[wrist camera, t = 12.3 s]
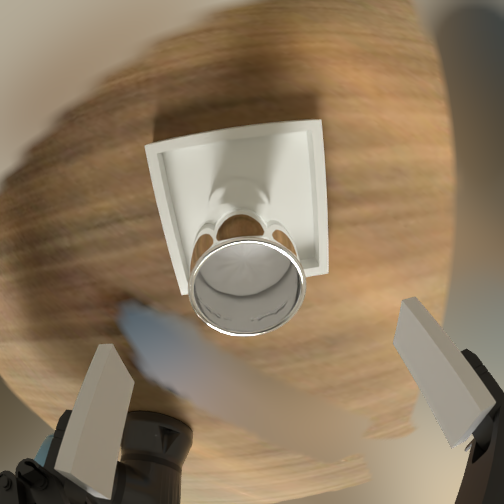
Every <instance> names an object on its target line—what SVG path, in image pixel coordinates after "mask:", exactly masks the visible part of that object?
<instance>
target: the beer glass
mask: <svg viewBox="0 0 504 504" xmlns="http://www.w3.org/2000/svg"><path fill="white" fill-rule="evenodd" d="M208 213H209V214H208V215H207V216H206V217H205V219H204V221H203V222H202V224H201V225H200V227H199V229H198V231H197V234H196V237H195V240H194V243H193V247H192V252H191V259H190V270H189V281H188V296H189V300H190V303H191V306H192V308H193V310H194V311H195V313H196V314H197V315H198V317H199V318H200V319H201V320H202V321H203V322H204V323H206V324H207V325H208V326H210V327H211V328H213V329H215V330H217V331H219V332H222V333H225V334H228V335H233V336H243V337H247V336H257V335H262V334H265V333H268V332H271V331H273V330H276V329H277V328H279V327H281V326H283V325H284V324H285V323H287V322H288V321H289V320H290V319H291V318H292V317H293V316H294V315H295V314H296V313H297V311H298V310H299V308H300V307H301V305H302V303H303V300H304V297H305V293H306V277H305V273H304V270H303V267H302V265H301V261H300V257H299V254H298V250H297V247H296V245H295V242H294V240H293V237H292V235H291V233H290V231H289V230H288V228H287V226H286V224H285V223H284V221H283V220H282V219H281V218H280V217H279V216H278V215H277V213H276V212H275V211H274V210H272V209H271V208H270V205H269V200H268V197H267V195H266V193H265V191H264V190H263V189H262V187H261V186H259V185H258V184H257V183H255V182H253V181H251V180H248V179H244V178H235V179H230V180H227V181H225V182H223V183H221V184H220V185H219V186H218V187H217V188H216V189H215V190H214V191H213V193H212V194H211V196H210V199H209V204H208Z"/></svg>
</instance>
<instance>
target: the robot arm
mask: <svg viewBox="0 0 504 504" xmlns="http://www.w3.org/2000/svg"><path fill="white" fill-rule="evenodd" d="M393 345H394V346H395V348H396V349H397V351H398V353H399V354H400V356H401V358H402V359H403V361H404V363H405V364H406V366H407V368H408V370H409V371H410V373H411V375H412V376H413V378H414V380H415V382H416V383H417V385H418V387H419V389H420V390H421V392H422V394H423V396H424V397H425V399H426V401H427V403H428V405H429V407H430V408H431V410H432V412H433V414H434V416H435V418H436V420H437V421H438V423H439V425H440V427H441V429H442V431H443V433H444V435H445V437H446V439H447V441H448V443H449V445H450V447H451V448H454V447H455V446H457V445H459V444H461V443H462V442H464V441H466V440H467V439H468V438H469V436H470V435H471V434H473V436H474V439H473V440H472V441H471V442H470V443H469V444H468V445H467V447H466V449H465V451H467V450H468V449H469V448H470V447H471V450H470V454H469V458H468V462H467V466H466V469H465V473H464V476H463V480H462V483H461V486H460V489H459V492H458V495H457V498H456V501H455V504H504V392H503V391H502V389H501V388H500V387H499V385H498V384H497V382H496V381H495V379H494V378H493V377H492V375H491V374H490V373H489V372H488V370H487V369H486V367H485V366H484V365H483V364H482V362H481V361H480V359H479V358H478V357H477V355H475V354H474V353H472V352H471V351H469V350H468V349H465V350H463V351H461V352H460V351H459V349H458V348H457V347H456V345H455V344H454V343H453V341H452V340H451V339H450V338H449V336H448V335H447V334H446V333H445V331H444V330H443V329H442V328H441V326H440V325H439V324H438V323H437V321H436V320H435V319H434V318H433V317H432V315H431V314H430V313H429V312H428V311H427V309H426V308H425V307H424V306H423V305H422V304H421V302H420V301H419V300H418V299H417V298H416V297H412V298H408V299H404V300H402V303H401V308H400V313H399V318H398V323H397V328H396V332H395V336H394V341H393ZM134 383H135V382H134V381H133V379H132V377H131V375H130V374H129V372H128V370H127V369H126V367H125V365H124V363H123V362H122V360H121V358H120V356H119V354H118V353H117V351H116V349H115V347H114V345H113V344H99V345H98V348H97V350H96V352H95V354H94V357H93V359H92V362H91V364H90V366H89V369H88V371H87V374H86V376H85V379H84V381H83V384H82V386H81V389H80V392H79V394H78V397H77V400H76V402H75V405H74V408H73V410H66V411H65V412H64V413H63V415H62V416H61V417H60V418H59V421H58V424H57V427H56V430H55V433H52V434H49V435H48V436H47V437H46V439H45V440H44V442H43V444H42V445H41V447H40V449H39V451H38V453H37V455H36V457H35V459H34V460H33V459H29V458H27V459H23V460H22V461H21V462H19V464H18V466H17V468H16V472H15V473H16V475H14V474H13V473H12V472H10V471H3V472H1V473H0V504H180V499H181V472H182V465H183V463H184V461H185V459H186V457H187V455H188V453H189V450H190V448H191V446H192V439H193V434H192V431H191V430H190V428H189V427H188V426H186V425H185V424H184V423H182V422H180V421H179V420H176V419H174V418H172V417H169V416H166V415H163V414H158V413H153V412H145V411H135V412H129V413H127V412H128V408H129V403H130V399H131V395H132V391H133V387H134ZM120 446H121V453H122V455H121V461H120V462H119V461H117V459H118V454H119V449H120Z"/></svg>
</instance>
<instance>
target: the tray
mask: <svg viewBox="0 0 504 504" xmlns="http://www.w3.org/2000/svg"><path fill="white" fill-rule="evenodd" d="M145 151H146V156H147V161H148V165H149V170H150V175H151V180H152V184H153V189H154V193H155V197H156V202H157V206H158V210H159V214H160V218H161V222H162V226H163V230H164V234H165V238H166V242H167V245H168V249H169V253H170V257H171V260H172V264H173V267H174V271H175V274H176V278H177V281H178V285H179V288H180V291H181V295H185V294H188V281H189V270H190V259H191V252H192V247H193V243H194V240H195V237H196V234H197V231H198V229H199V227H200V225H201V224H202V222H203V221H204V219H205V217H206V216H207V215H208V214H209V213H208V204H209V199H210V196H211V194H212V193H213V191H214V190H215V189H216V188H217V187H218V186H219V185H220V184H221V183H223V182H225V181H227V180H230V179H235V178H244V179H248V180H251V181H253V182H255V183H257V184H258V185H259V186H261V187H262V189H263V190H264V191H265V193H266V195H267V197H268V200H269V205H270V208H271V209H272V210H274V211H275V212H276V213H277V215H278V216H279V217H280V218H281V219H282V220H283V221H284V223H285V224H286V226H287V228H288V230H289V231H290V233H291V235H292V237H293V240H294V242H295V245H296V247H297V250H298V254H299V257H300V261H301V265H302V267H303V270H304V273H305V277H309V276H315V275H321V274H327V273H328V214H327V190H326V173H325V158H324V144H323V133H322V122H321V120H319V119H304V120H291V121H280V122H270V123H261V124H252V125H245V126H237V127H230V128H224V129H218V130H211V131H206V132H200V133H195V134H189V135H184V136H179V137H174V138H170V139H165V140H160V141H156V142H152V143H150V144H147V145H145Z"/></svg>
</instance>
